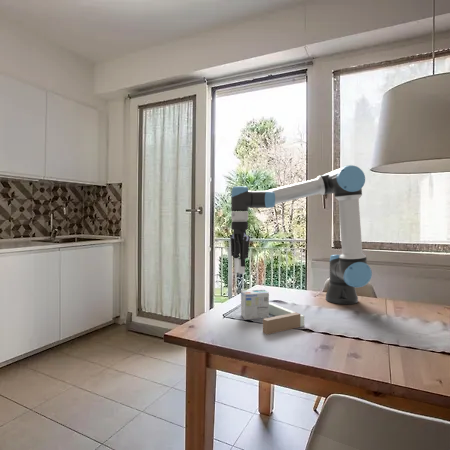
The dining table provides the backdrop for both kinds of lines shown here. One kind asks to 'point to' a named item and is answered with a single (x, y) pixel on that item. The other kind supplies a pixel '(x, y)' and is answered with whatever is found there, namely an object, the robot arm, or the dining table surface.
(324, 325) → the dining table surface
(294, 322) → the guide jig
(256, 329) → the dining table surface
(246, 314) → the light bulb box
